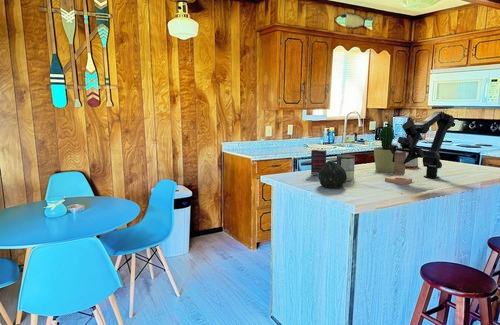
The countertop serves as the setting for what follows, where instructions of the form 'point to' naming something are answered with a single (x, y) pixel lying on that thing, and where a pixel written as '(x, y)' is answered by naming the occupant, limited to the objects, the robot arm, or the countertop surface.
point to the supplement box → (317, 161)
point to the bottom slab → (401, 184)
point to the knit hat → (412, 163)
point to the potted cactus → (384, 151)
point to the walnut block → (399, 163)
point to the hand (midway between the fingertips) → (398, 162)
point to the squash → (332, 175)
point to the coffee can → (347, 164)
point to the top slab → (398, 179)
